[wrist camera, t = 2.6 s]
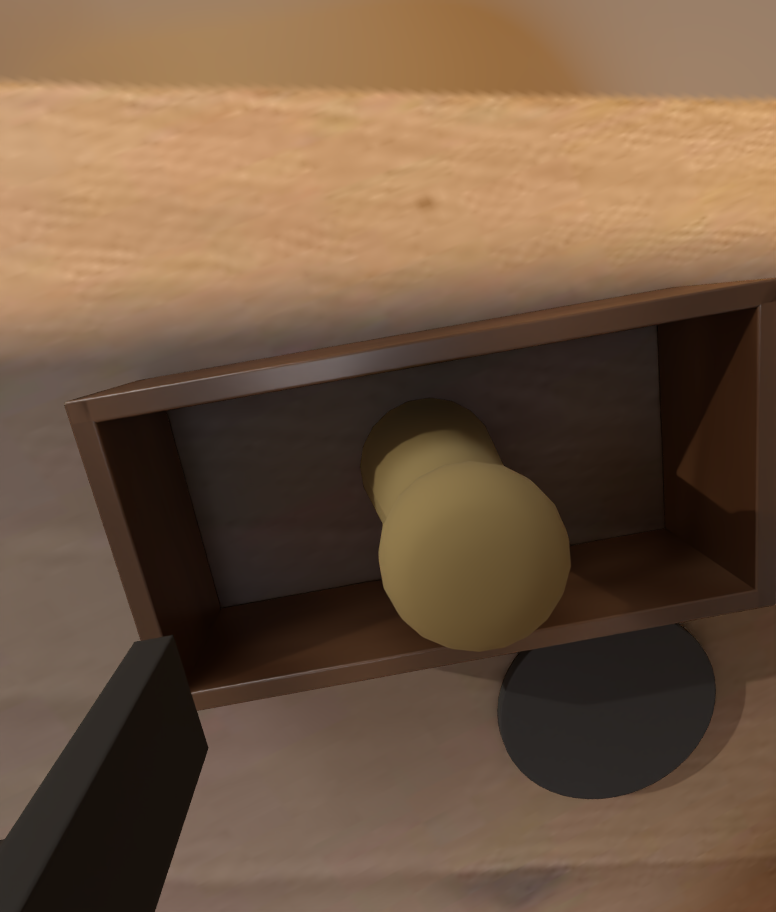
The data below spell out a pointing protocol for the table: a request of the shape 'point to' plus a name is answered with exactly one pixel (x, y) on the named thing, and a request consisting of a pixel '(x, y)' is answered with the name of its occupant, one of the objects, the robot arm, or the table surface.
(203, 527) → the table surface
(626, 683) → the coaster
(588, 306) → the box
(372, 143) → the table surface
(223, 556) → the table surface
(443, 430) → the cork
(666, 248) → the table surface
